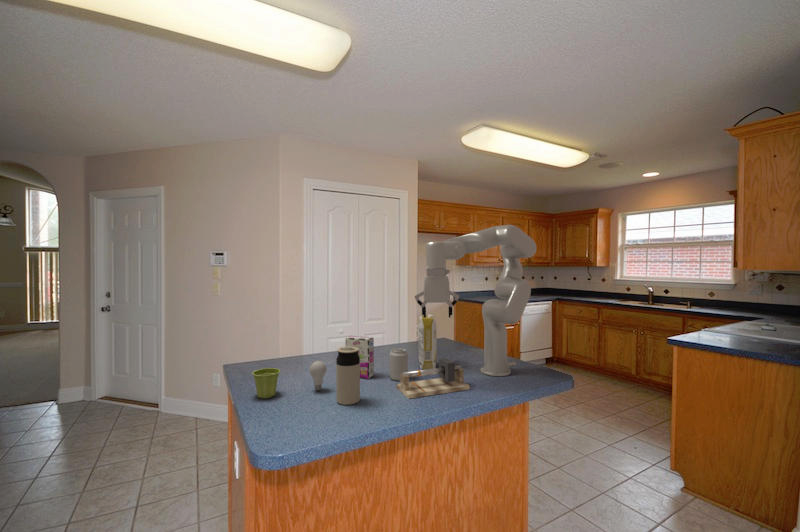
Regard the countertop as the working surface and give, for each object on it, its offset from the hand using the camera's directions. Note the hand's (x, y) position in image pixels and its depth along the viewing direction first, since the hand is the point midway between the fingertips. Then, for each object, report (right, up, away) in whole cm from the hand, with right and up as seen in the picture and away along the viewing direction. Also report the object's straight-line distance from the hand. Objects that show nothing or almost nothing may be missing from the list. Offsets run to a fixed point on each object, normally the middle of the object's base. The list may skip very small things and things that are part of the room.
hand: (437, 317), depth 141 cm
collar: (+3, -23, -2) cm, 24 cm away
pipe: (-2, -21, -4) cm, 22 cm away
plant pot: (-62, -27, -11) cm, 69 cm away
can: (-15, -27, +8) cm, 32 cm away
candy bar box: (-31, -27, +11) cm, 43 cm away
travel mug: (-32, -27, -16) cm, 45 cm away
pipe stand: (-2, -26, -4) cm, 27 cm away
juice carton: (-2, -26, +24) cm, 36 cm away
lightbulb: (-45, -27, -6) cm, 53 cm away
